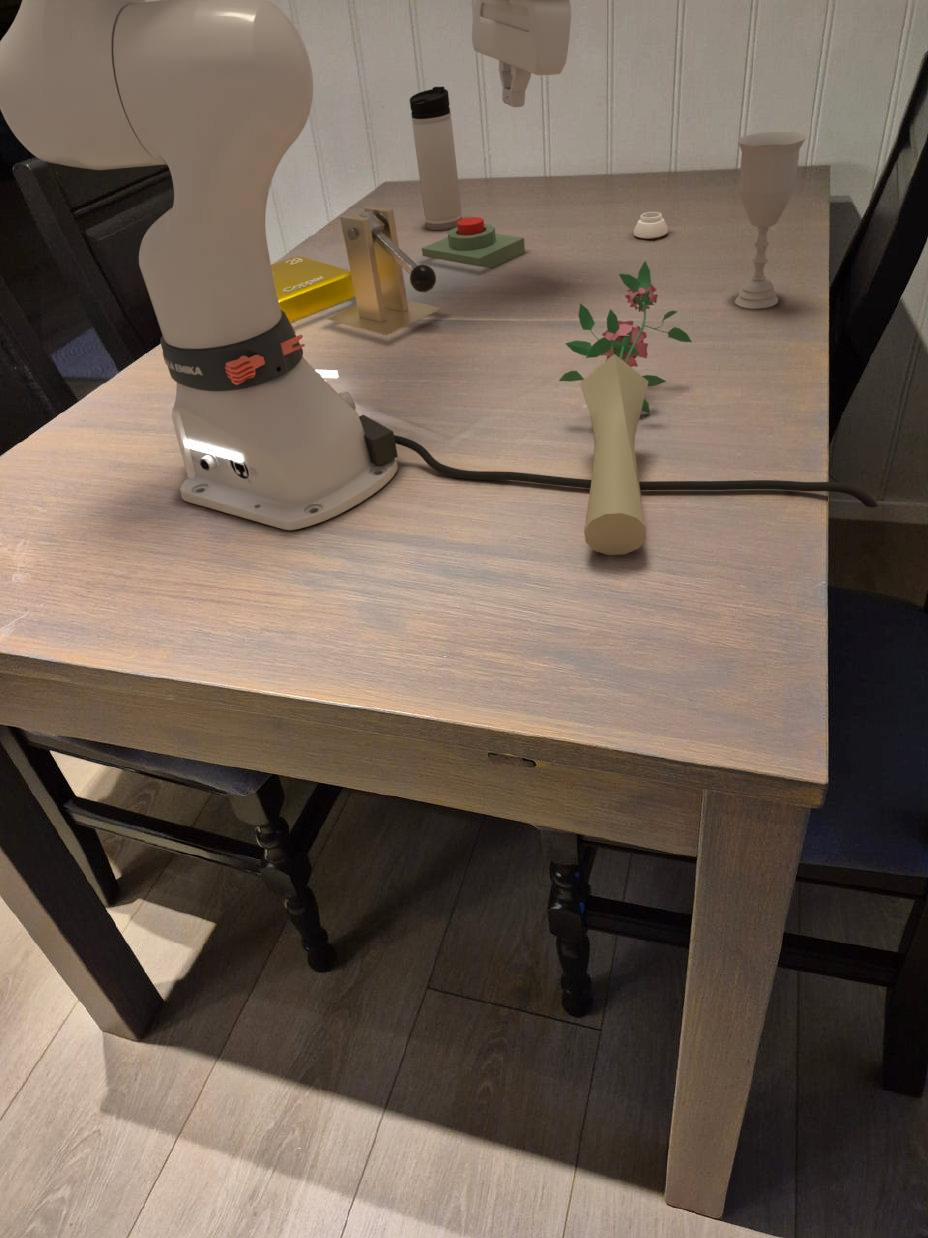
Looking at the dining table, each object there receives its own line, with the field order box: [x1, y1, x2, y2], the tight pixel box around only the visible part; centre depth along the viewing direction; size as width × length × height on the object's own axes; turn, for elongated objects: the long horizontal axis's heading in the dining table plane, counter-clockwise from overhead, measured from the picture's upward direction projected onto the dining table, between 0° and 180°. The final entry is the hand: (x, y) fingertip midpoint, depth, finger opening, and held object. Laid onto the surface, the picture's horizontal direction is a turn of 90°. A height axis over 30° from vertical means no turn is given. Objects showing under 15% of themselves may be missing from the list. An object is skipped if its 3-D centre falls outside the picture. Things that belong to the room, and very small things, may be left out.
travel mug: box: [409, 86, 463, 232], centre depth 145 cm, size 6×7×20 cm
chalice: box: [734, 131, 807, 310], centre depth 104 cm, size 7×7×18 cm
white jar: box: [633, 211, 669, 240], centre depth 133 cm, size 5×3×5 cm
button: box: [457, 216, 485, 236], centre depth 132 cm, size 4×4×2 cm
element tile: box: [271, 255, 355, 324], centre depth 125 cm, size 15×15×5 cm
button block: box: [421, 223, 526, 269], centre depth 134 cm, size 12×10×4 cm
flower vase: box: [558, 260, 693, 556], centre depth 82 cm, size 12×12×35 cm
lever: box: [356, 211, 437, 293], centre depth 110 cm, size 13×3×3 cm, turn 47°
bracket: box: [326, 205, 443, 337], centre depth 114 cm, size 12×10×14 cm
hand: (513, 104), depth 112 cm, fingers closed
